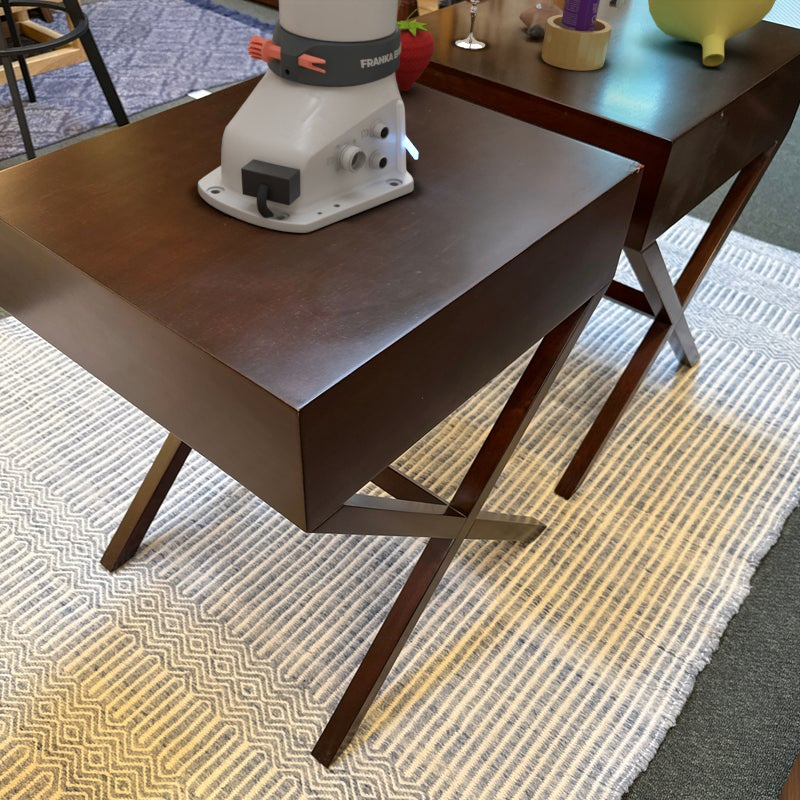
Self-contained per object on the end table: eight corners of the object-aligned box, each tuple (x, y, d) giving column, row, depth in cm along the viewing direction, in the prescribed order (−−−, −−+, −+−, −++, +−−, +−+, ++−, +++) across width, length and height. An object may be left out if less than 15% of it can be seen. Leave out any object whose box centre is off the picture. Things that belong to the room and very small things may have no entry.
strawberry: (439, 87, 109) (447, 5, 103) (413, 104, 104) (419, 19, 97) (399, 78, 111) (404, -4, 105) (371, 94, 106) (375, 9, 99)
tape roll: (588, 75, 116) (596, 37, 113) (530, 60, 120) (536, 23, 117) (613, 60, 122) (621, 23, 119) (557, 46, 126) (563, 10, 123)
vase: (726, -125, 113) (728, -3, 109) (806, -61, 123) (810, 54, 119) (623, -45, 129) (620, 65, 124) (700, 6, 138) (701, 110, 134)
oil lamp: (502, 34, 132) (533, 49, 127) (503, 7, 129) (535, 22, 124) (547, 20, 135) (579, 35, 130) (549, -6, 132) (582, 8, 127)
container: (590, 62, 119) (614, -56, 110) (558, 60, 119) (578, -58, 110) (585, 52, 123) (608, -63, 113) (553, 50, 123) (573, -66, 113)
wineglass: (466, 36, 127) (475, -53, 120) (497, 45, 124) (509, -45, 117) (442, 43, 124) (450, -48, 116) (474, 53, 121) (484, -39, 113)
